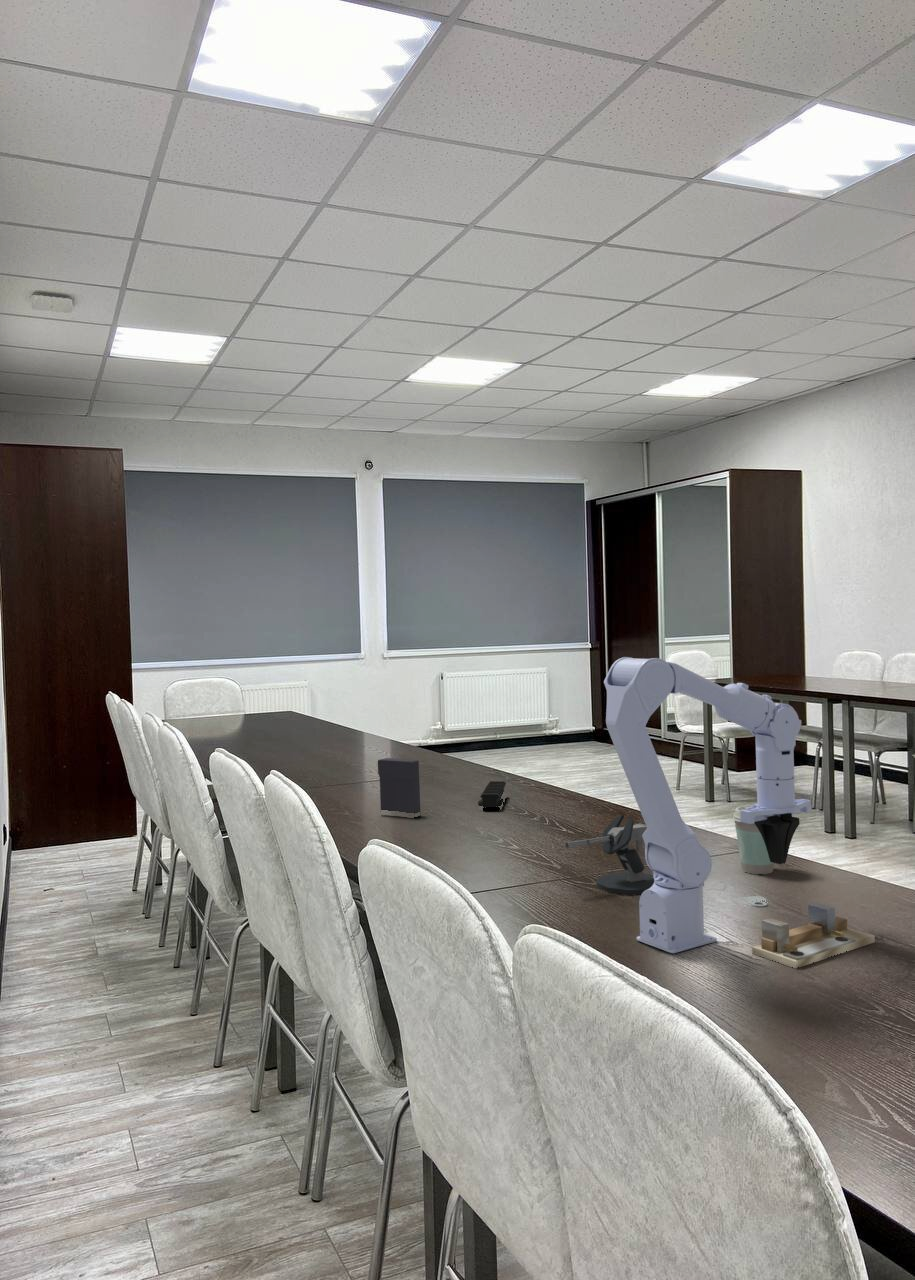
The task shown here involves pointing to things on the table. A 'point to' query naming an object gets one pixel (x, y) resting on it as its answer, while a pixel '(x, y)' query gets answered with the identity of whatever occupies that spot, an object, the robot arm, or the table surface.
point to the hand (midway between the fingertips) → (777, 862)
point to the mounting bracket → (750, 899)
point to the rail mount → (492, 794)
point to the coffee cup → (751, 847)
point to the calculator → (399, 785)
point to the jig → (806, 942)
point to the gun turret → (622, 857)
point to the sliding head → (824, 917)
